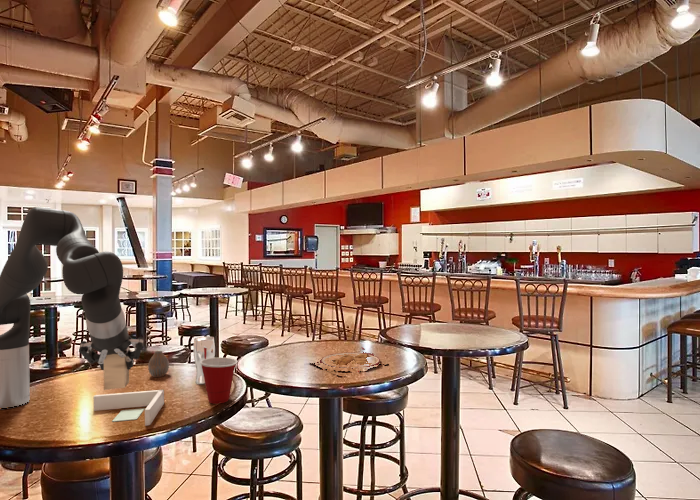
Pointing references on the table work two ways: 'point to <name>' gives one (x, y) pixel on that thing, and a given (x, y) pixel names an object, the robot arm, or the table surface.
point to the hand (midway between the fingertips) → (118, 367)
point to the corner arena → (131, 404)
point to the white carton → (202, 355)
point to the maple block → (115, 372)
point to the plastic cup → (218, 378)
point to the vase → (158, 364)
